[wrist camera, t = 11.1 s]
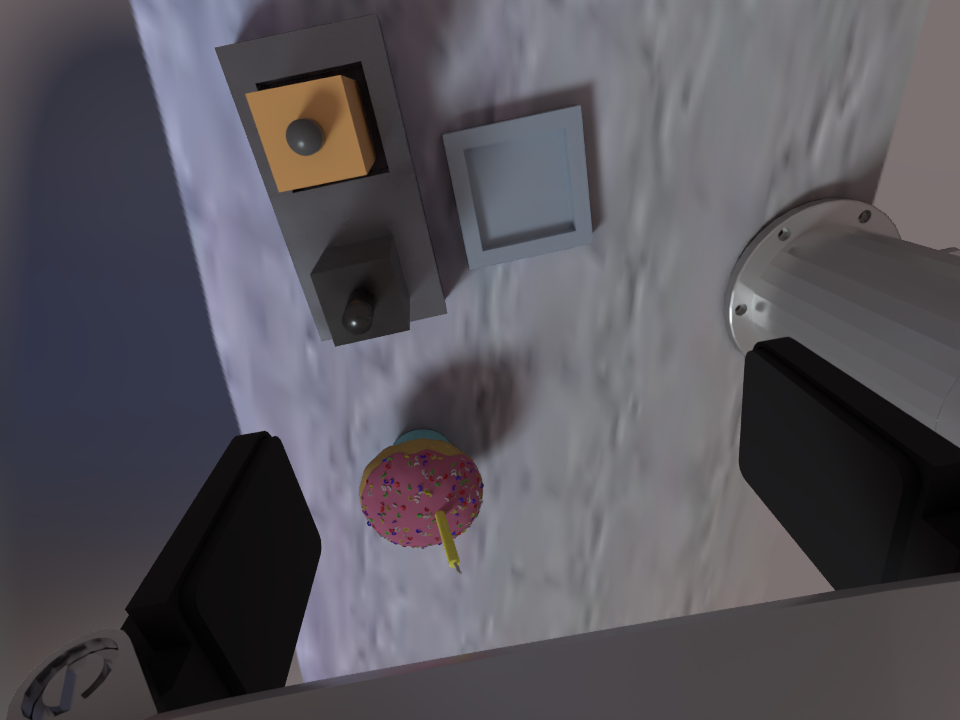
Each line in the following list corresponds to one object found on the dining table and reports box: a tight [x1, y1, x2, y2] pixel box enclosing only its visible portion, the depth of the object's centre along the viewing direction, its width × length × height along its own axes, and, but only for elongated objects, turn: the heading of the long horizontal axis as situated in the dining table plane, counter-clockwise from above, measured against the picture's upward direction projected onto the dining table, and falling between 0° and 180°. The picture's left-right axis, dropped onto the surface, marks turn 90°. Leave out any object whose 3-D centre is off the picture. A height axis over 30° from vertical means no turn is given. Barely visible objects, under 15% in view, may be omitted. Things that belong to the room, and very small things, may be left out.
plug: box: [245, 75, 377, 192], centre depth 26 cm, size 4×4×9 cm
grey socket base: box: [215, 14, 447, 347], centre depth 27 cm, size 16×8×10 cm, turn 11°
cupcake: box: [359, 429, 484, 574], centre depth 35 cm, size 9×8×12 cm
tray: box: [441, 105, 593, 270], centre depth 32 cm, size 8×8×1 cm
